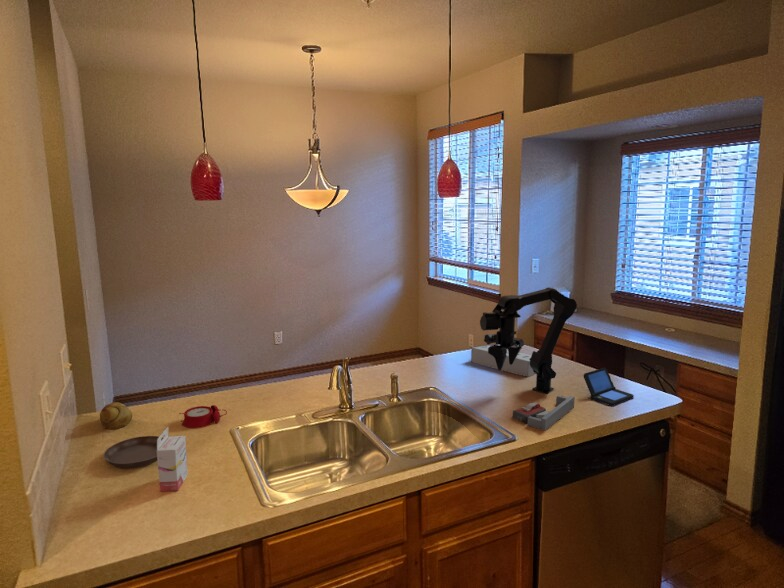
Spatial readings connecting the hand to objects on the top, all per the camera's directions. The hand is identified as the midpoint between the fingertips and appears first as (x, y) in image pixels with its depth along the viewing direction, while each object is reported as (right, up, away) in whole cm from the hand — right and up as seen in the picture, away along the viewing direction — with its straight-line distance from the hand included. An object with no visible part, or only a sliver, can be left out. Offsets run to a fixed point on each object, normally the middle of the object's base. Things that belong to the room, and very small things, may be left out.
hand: (505, 367), depth 199 cm
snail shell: (-139, -16, -24) cm, 143 cm away
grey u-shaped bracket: (+12, -15, -18) cm, 27 cm away
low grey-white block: (+9, -5, +37) cm, 38 cm away
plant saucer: (-120, -20, -47) cm, 131 cm away
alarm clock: (-110, -16, -22) cm, 113 cm away
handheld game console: (+40, -12, -1) cm, 42 cm away
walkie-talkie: (+7, -15, -18) cm, 24 cm away
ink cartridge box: (-104, -23, -61) cm, 123 cm away
